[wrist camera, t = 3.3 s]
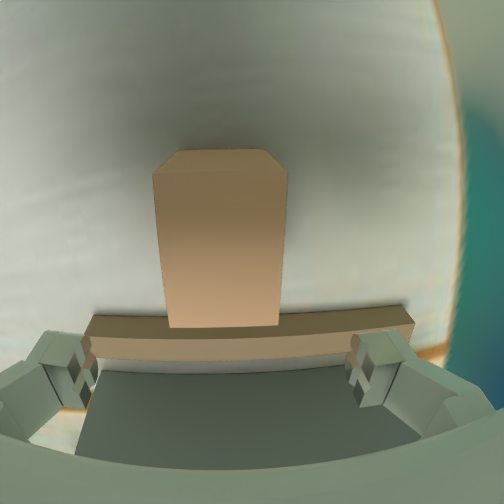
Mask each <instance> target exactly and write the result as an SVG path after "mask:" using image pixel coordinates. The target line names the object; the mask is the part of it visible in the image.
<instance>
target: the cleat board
mask: <svg viewBox="0 0 504 504" xmlns="http://www.w3.org/2000/svg"><path fill="white" fill-rule="evenodd" d="M414 326H415V322H414V321H413V319H412V318H411V317H410V315H409V314H408V313H407V312H406V310H405V309H404V308H403V306H402V305H397V306H388V307H377V308H366V309H354V310H342V311H328V312H313V313H296V314H279V323H278V325H272V326H248V327H211V328H170V326H169V320H168V317H130V316H96V315H93V317H92V319H91V321H90V323H89V325H88V327H87V329H86V331H85V333H84V335H87V336H89V338H90V341H91V344H92V346H91V349H90V351H91V352H92V353H93V354H94V355H95V356H96V357H97V358H111V359H128V360H152V361H233V360H258V359H276V358H291V357H303V356H315V355H325V354H335V353H344V352H350V351H351V350H352V348H351V346H350V341H351V338H352V336H353V334H357V333H368V332H377V331H382V330H390V329H397V330H399V331H400V333H401V334H402V335H403V337H404V338H405V339H406V341H407V342H409V340H410V337H411V334H412V331H413V329H414ZM353 390H354V386H353V385H351V384H350V383H348V380H347V378H346V374H345V365H341V366H332V367H324V368H314V369H303V370H292V371H278V372H263V373H241V374H151V373H130V372H115V371H102V370H101V373H100V376H99V379H98V382H97V384H96V387H95V390H94V393H93V396H92V399H91V402H90V405H89V408H88V411H87V414H86V418H85V421H84V424H83V427H82V431H81V434H80V437H79V441H78V444H77V448H76V451H75V455H77V456H82V457H87V458H92V459H97V460H103V461H109V462H115V463H122V464H129V465H137V466H146V467H157V468H169V469H186V470H250V469H267V468H279V467H290V466H299V465H307V464H314V463H321V462H328V461H334V460H340V459H345V458H350V457H355V456H360V455H365V454H369V453H374V452H378V451H382V450H386V449H390V448H394V447H398V446H402V445H405V444H409V443H412V442H416V441H419V439H420V438H421V435H420V434H419V433H417V432H416V431H415V430H413V429H412V428H411V427H410V426H408V425H407V424H406V423H405V422H403V421H402V420H401V419H400V418H398V417H397V416H396V415H395V414H393V413H392V412H391V411H390V410H388V409H387V408H386V407H385V406H383V404H381V405H375V406H368V407H361V408H359V406H358V404H357V402H356V399H355V397H354V395H353Z"/></svg>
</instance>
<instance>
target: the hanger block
mask: <svg viewBox="0 0 504 504" xmlns="http://www.w3.org/2000/svg"><path fill="white" fill-rule="evenodd" d="M287 178H288V171H287V170H286V169H285V168H284V167H283V166H282V165H281V164H280V163H279V162H278V161H277V160H276V159H275V158H274V157H273V156H272V155H271V154H270V153H269V152H267V151H266V150H265V149H201V150H178V151H177V152H176V153H175V154H174V155H172V156H171V157H170V158H169V159H168V160H167V161H166V162H165V163H164V164H163V165H162V166H161V167H159V168H158V169H157V170H156V171H155V172H154V173H153V188H154V201H155V213H156V224H157V235H158V244H159V253H160V262H161V270H162V278H163V286H164V293H165V300H166V307H167V314H168V320H169V326H170V328H211V327H248V326H272V325H278V323H279V310H280V296H281V282H282V267H283V252H284V235H285V218H286V199H287Z"/></svg>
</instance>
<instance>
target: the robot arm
mask: <svg viewBox="0 0 504 504" xmlns="http://www.w3.org/2000/svg"><path fill="white" fill-rule="evenodd" d="M91 346H92V344H91V341H90V338H89V336H87V335H84V334H75V333H67V332H57V331H49V330H48V331H45V332H44V333H43V334H42V336H41V337H40V339H39V340H38V342H37V343H36V345H35V347H34V348H33V350H32V351H31V353H30V354H29V356H28V357H27V359H26V361H20V362H18V363H16V364H15V365H13V366H11V367H9V368H8V369H6V370H4V371H2V372H1V373H0V504H504V408H502V409H500V410H498V411H495V409H494V408H493V406H492V405H491V404H490V402H489V401H488V399H487V398H486V397H485V395H484V394H483V392H482V391H481V390H480V388H479V387H477V386H475V385H473V384H472V383H469V382H468V381H466V380H463V379H462V378H460V377H458V376H456V375H454V374H452V373H450V372H448V371H446V370H444V369H442V368H440V367H438V366H437V365H435V364H433V363H431V362H429V361H427V360H425V359H419V358H418V357H417V355H416V354H415V352H414V351H413V349H412V348H411V347H410V345H409V344H408V342H407V341H406V339H405V338H404V337H403V335H402V334H401V333H400V331H399V330H397V329H390V330H382V331H377V332H368V333H357V334H353V336H352V338H351V341H350V346H351V348H352V350H351V351H350V352H349V353H348V354H347V356H346V360H345V374H346V378H347V380H348V383H350V384H351V385H353V386H354V390H353V395H354V397H355V399H356V402H357V404H358V406H359V408H361V407H368V406H375V405H381V404H383V406H385V407H386V408H387V409H388V410H390V411H391V412H392V413H393V414H395V415H396V416H397V417H398V418H400V419H401V420H402V421H403V422H405V423H406V424H407V425H408V426H410V427H411V428H412V429H413V430H415V431H416V432H417V433H419V434H420V435H421V438H420V439H419V441H416V442H412V443H409V444H405V445H402V446H398V447H394V448H390V449H386V450H382V451H378V452H374V453H369V454H365V455H360V456H355V457H350V458H345V459H340V460H334V461H328V462H321V463H314V464H307V465H299V466H290V467H279V468H267V469H250V470H186V469H169V468H157V467H146V466H137V465H129V464H122V463H115V462H109V461H103V460H97V459H92V458H87V457H82V456H77V455H73V454H68V453H64V452H60V451H56V450H52V449H48V448H45V447H41V446H37V445H34V444H31V443H30V441H29V440H28V439H29V438H30V437H31V436H32V435H33V434H34V433H35V432H37V431H38V430H39V429H40V428H41V427H42V426H43V425H44V424H45V423H46V422H48V421H49V420H50V419H51V418H52V417H53V416H54V415H55V414H56V413H57V412H59V411H60V410H61V409H62V408H63V407H62V406H65V407H71V408H78V409H86V408H87V405H88V402H89V399H90V397H91V392H90V390H89V388H91V387H92V386H93V385H95V383H96V380H97V378H98V363H97V359H96V356H95V355H94V354H93V353H92V352H91V351H90V349H91Z"/></svg>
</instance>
